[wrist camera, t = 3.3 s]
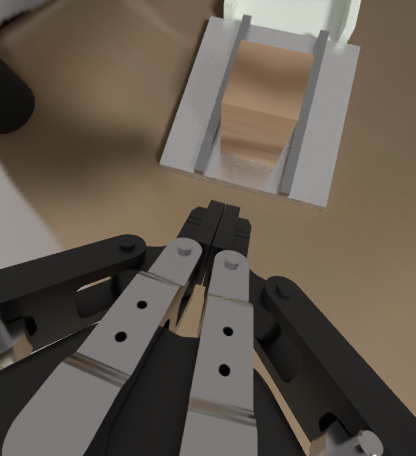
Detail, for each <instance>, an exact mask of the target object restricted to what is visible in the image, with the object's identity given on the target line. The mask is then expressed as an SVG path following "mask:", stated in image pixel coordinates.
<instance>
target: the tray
mask: <svg viewBox="0 0 416 456" xmlns="http://www.w3.org/2000/svg"><path fill="white" fill-rule="evenodd" d="M360 2H361V0H225V1H224V19H227V20H232V21H237V22H241V20H242V17H243V14H245V15H250V16H252V19H251V24H252V25H257V26H262V27H267V28H272V29H276V30H281V31H286V32H291V33H296V34H301V35H306V36H311V37H316V38H317V37H318V35H319V32H320V30H325V31H329V35H328V39H327V40H331V41H336V42H341V43H347V41H348V40H349V38H350V36H351V34H352V32H353V30H354V29H355V25H356V20H357V16H358V11H359V7H360Z"/></svg>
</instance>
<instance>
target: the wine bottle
mask: <svg viewBox="0 0 416 456" xmlns="http://www.w3.org/2000/svg"><path fill="white" fill-rule="evenodd" d="M34 101H35V99H34V96H33V93H32V91H31V89H30V88H29V87H28V86H27V85H26V84H25V83H24V82H23V81H22V80H21V79H20V78H19V77H18V76H17V75H16V74H15V73H14V72H13V71H12V70H11V69H10V68H9V67H8V66H7V65H6V63H5V62H4V61H3V60H2V59H1V58H0V134H6V133H10V132H12V131H15V130H17V129H18V128H20V127H21V126H22V125H24V124H25V123H26V122H27V120H28V119H29V118H30V116H31V114H32V112H33V109H34Z"/></svg>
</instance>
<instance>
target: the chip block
mask: <svg viewBox="0 0 416 456" xmlns="http://www.w3.org/2000/svg"><path fill="white" fill-rule="evenodd" d="M313 59H314V55H312V54H308V53H303V52H298V51H293V50H288V49H284V48H279V47H274V46H269V45H264V44H260V43H255V42H250V41H245V40H241V42H240V45H239V49H238V52H237V55H236V58H235V61H234V64H233V68H232V71H231V74H230V77H229V80H228V83H227V87H226V90H225V93H224V96H223V99H222V102H221V145H220V153H224V154H228V155H232V156H236V157H240V158H244V159H248V160H252V161H256V162H260V163H264V164H268V165H272V166H275V165H276V163H277V161H278V159H279V157H280V155H281V153H282V151H283V149H284V147H285V145H286V143H287V141H288V139H289V138H290V136H291V134H292V132H293V130H294V128H295V126H296V124H297V122H298V119H299V115H300V111H301V107H302V103H303V99H304V95H305V91H306V87H307V83H308V79H309V75H310V71H311V67H312V63H313Z"/></svg>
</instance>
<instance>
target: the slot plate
mask: <svg viewBox="0 0 416 456" xmlns="http://www.w3.org/2000/svg"><path fill="white" fill-rule="evenodd" d="M251 19H252V16H250V15H245V14H243V17H242V20H241V22H237V21H232V20H227V19H222V18H217V17H212V16H211V17H210V20H209V23H208V26H207V28H206V31H205V34H204V37H203V40H202V43H201V46H200V48H199V51H198V54H197V57H196V60H195V63H194V66H193V69H192V71H191V74H190V77H189V80H188V83H187V86H186V89H185V91H184V94H183V97H182V100H181V103H180V106H179V109H178V112H177V114H176V117H175V120H174V123H173V126H172V129H171V132H170V134H169V137H168V140H167V143H166V146H165V149H164V152H163V155H162V157H161V160H160V163H159V164H160V166H161V168H162V170H165V171H169V172H173V173H177V174H181V175H184V176H188V177H192V178H196V179H200V180H203V181H207V182H211V183H215V184H219V185H222V186H226V187H230V188H234V189H238V190H241V191H245V192H249V193H253V194H257V195H261V196H264V197H268V198H272V199H276V200H280V201H283V202H287V203H291V204H295V205H299V206H302V207H306V208H310V209H314V210H318V211H321V210H323V209H324V208H326V205H327V200H328V196H329V191H330V186H331V182H332V177H333V172H334V168H335V163H336V158H337V154H338V149H339V144H340V140H341V135H342V130H343V126H344V121H345V116H346V111H347V107H348V102H349V97H350V93H351V88H352V83H353V79H354V74H355V69H356V65H357V60H358V55H359V51H360V46H355V45H351V44H346V43H341V42H336V41H331V40H327V39H328V35H329V31H325V30H320V32H319V35H318V37H317V38H316V37H311V36H306V35H301V34H296V33H291V32H286V31H281V30H276V29H272V28H267V27H262V26H257V25H252V24H251ZM241 40H245V41H250V42H255V43H260V44H264V45H269V46H274V47H279V48H284V49H288V50H293V51H298V52H303V53H308V54H312V55H314V59H313V63H312V67H311V71H310V75H309V79H308V83H307V87H306V91H305V95H304V99H303V103H302V107H301V111H300V115H299V119H298V122H297V124H296V126H295V128H294V130H293V132H292V134H291V136H290V138H289V139H288V141H287V143H286V145H285V147H284V149H283V151H282V153H281V155H280V157H279V159H278V161H277V163H276V165H275V166H272V165H268V164H264V163H260V162H256V161H252V160H248V159H244V158H240V157H236V156H232V155H228V154H224V153H220V145H221V102H222V99H223V96H224V93H225V90H226V87H227V83H228V80H229V77H230V74H231V71H232V68H233V64H234V61H235V58H236V55H237V52H238V49H239V45H240V42H241Z"/></svg>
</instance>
